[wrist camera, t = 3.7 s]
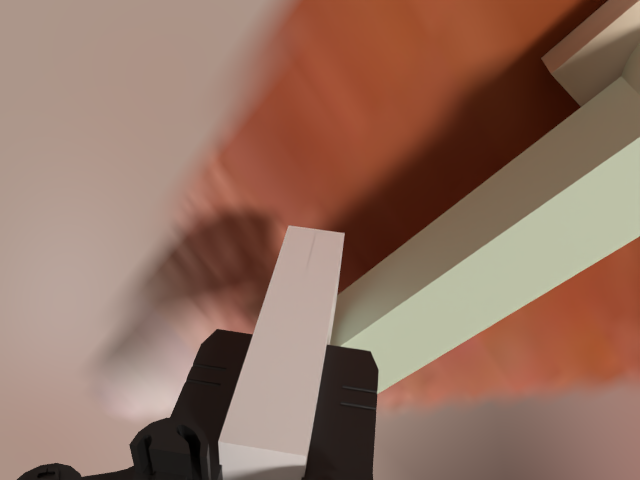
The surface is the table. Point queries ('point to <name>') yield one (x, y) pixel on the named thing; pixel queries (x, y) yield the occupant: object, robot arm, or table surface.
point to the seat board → (596, 50)
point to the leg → (504, 239)
